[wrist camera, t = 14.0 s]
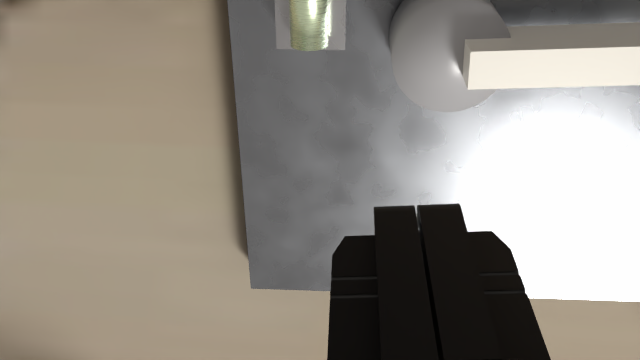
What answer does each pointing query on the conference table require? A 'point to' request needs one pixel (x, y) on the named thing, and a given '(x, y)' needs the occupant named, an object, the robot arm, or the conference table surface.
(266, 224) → the levelling base
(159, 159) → the conference table surface
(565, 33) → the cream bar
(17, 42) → the conference table surface
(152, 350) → the conference table surface
